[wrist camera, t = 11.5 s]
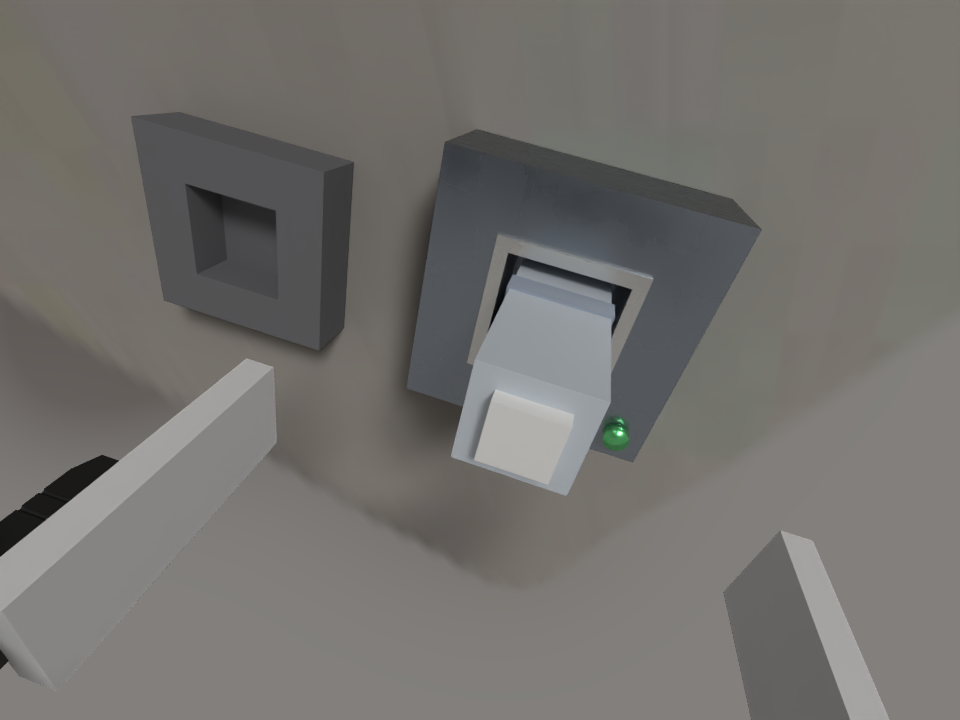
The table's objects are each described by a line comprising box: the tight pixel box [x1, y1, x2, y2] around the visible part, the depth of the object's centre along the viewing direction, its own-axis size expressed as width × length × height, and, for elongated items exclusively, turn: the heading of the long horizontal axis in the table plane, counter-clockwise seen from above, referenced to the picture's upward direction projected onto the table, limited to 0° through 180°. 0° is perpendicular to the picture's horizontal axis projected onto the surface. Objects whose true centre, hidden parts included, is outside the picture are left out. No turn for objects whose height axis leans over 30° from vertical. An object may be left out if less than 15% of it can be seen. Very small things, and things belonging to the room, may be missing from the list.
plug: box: [451, 258, 615, 496], centre depth 19 cm, size 4×4×13 cm
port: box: [406, 129, 762, 462], centre depth 23 cm, size 12×12×6 cm
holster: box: [131, 112, 354, 351], centre depth 26 cm, size 10×10×3 cm
